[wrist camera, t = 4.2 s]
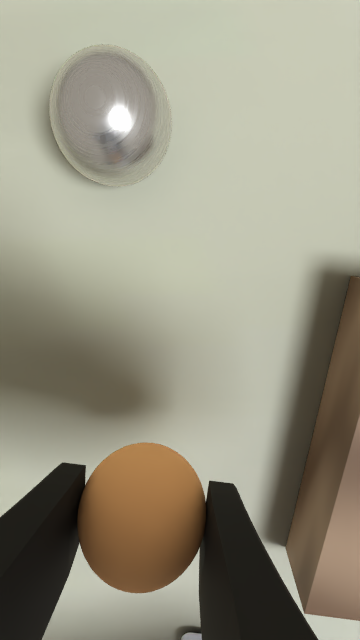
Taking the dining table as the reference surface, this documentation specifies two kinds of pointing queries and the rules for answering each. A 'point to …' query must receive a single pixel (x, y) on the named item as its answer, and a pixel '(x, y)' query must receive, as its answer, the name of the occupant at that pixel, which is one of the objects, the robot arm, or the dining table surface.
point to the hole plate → (332, 485)
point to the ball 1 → (110, 115)
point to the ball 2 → (141, 517)
